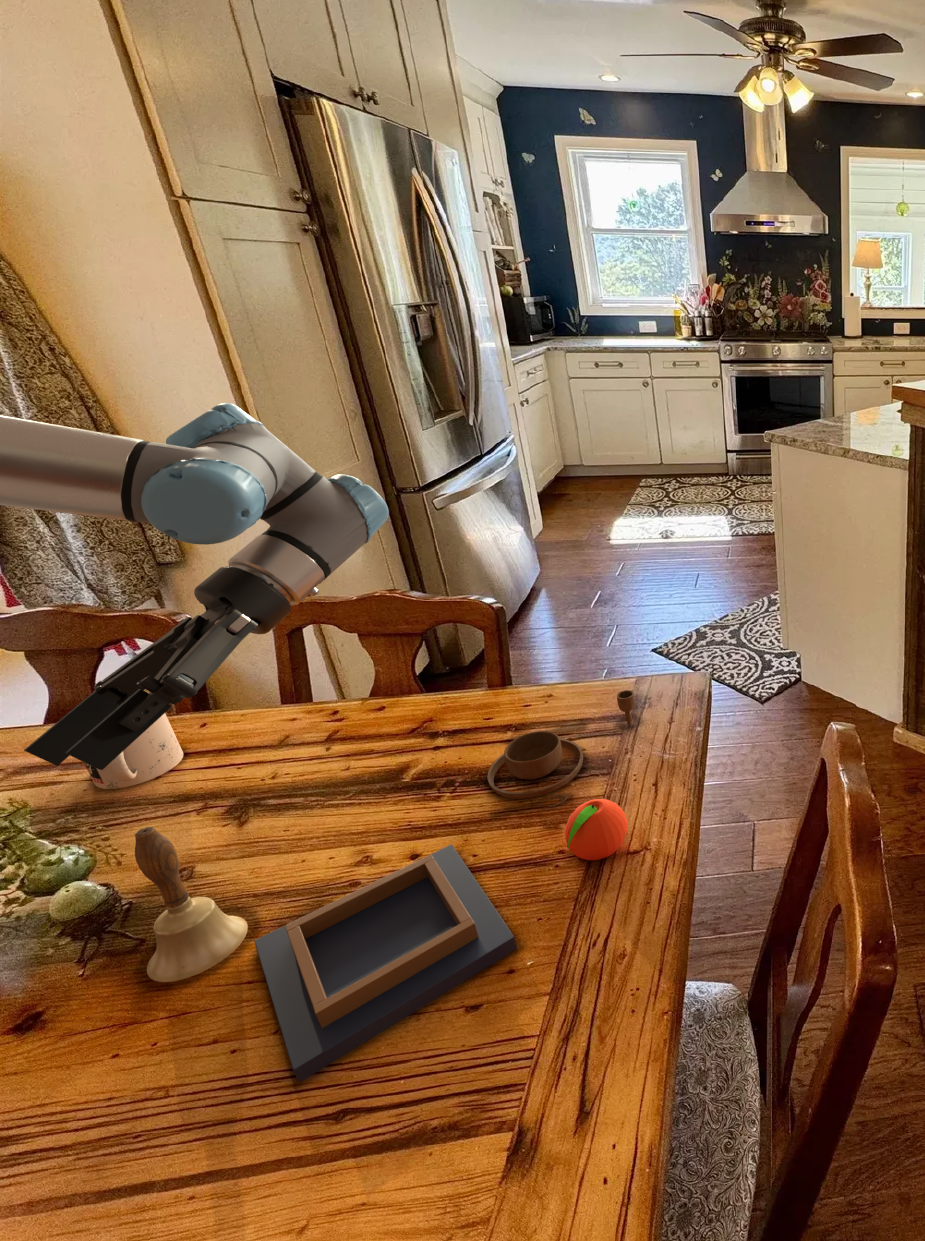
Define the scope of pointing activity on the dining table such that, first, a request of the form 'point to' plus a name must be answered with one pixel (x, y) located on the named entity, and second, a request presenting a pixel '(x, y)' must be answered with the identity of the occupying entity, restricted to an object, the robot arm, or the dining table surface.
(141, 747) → the teacup with lid
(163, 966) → the hand bell
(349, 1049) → the bell stand
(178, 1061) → the dining table surface
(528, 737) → the place setting
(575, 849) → the clementine
